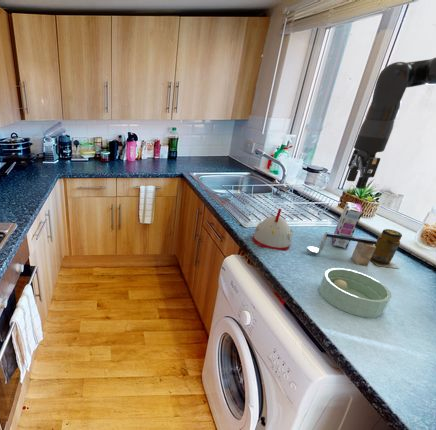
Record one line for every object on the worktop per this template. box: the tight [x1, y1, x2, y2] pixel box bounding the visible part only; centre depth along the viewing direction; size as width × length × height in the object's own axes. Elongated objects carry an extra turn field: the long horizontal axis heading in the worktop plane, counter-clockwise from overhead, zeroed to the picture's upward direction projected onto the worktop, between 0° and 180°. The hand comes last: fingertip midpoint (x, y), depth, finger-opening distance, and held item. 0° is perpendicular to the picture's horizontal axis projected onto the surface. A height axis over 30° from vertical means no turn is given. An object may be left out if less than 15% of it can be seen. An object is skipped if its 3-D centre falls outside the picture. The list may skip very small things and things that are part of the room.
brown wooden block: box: [351, 242, 376, 267], centre depth 105 cm, size 3×6×8 cm, turn 159°
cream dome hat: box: [252, 208, 293, 252], centre depth 116 cm, size 14×14×15 cm
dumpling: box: [333, 280, 347, 291], centre depth 90 cm, size 4×4×4 cm
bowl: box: [318, 267, 392, 319], centre depth 86 cm, size 16×16×6 cm
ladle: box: [305, 232, 377, 258], centre depth 107 cm, size 19×4×10 cm, turn 69°
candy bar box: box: [332, 201, 363, 250], centre depth 117 cm, size 11×5×16 cm, turn 145°
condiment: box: [370, 228, 403, 269], centre depth 105 cm, size 7×8×12 cm
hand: (354, 184), depth 96 cm, fingers open, 8 cm apart
